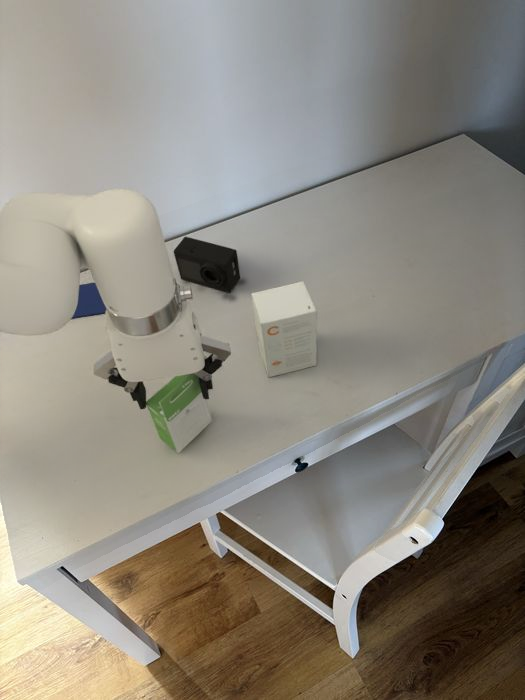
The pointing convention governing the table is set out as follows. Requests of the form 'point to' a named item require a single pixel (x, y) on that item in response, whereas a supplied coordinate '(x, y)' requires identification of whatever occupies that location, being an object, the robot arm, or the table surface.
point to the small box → (285, 328)
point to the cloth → (89, 301)
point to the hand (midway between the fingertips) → (174, 394)
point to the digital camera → (207, 264)
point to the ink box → (179, 411)
